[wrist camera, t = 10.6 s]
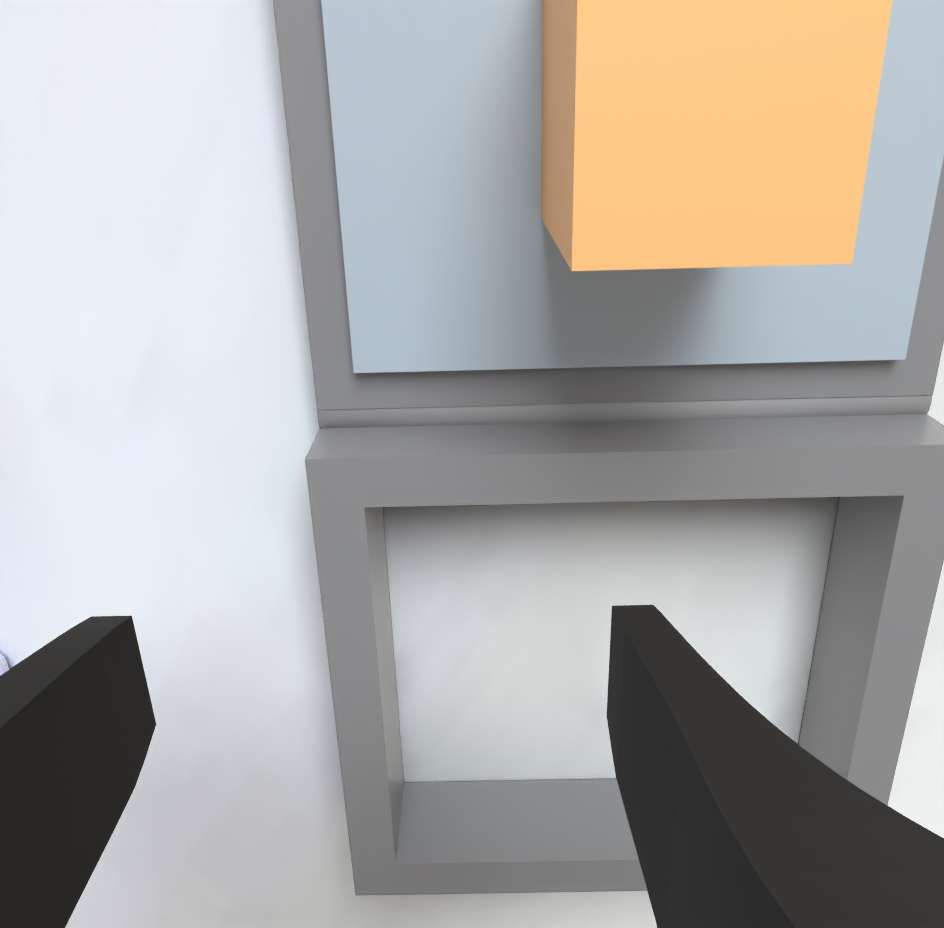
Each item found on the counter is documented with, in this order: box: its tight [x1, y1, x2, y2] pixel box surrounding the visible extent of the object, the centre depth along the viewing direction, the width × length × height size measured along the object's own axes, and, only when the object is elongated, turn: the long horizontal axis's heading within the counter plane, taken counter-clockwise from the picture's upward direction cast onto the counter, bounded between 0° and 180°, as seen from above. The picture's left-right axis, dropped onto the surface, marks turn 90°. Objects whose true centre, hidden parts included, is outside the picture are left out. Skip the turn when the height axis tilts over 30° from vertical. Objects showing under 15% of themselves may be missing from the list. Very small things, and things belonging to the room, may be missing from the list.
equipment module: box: [541, 0, 893, 271], centre depth 14 cm, size 4×5×6 cm
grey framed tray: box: [273, 0, 944, 895], centre depth 19 cm, size 14×28×3 cm, turn 1°
